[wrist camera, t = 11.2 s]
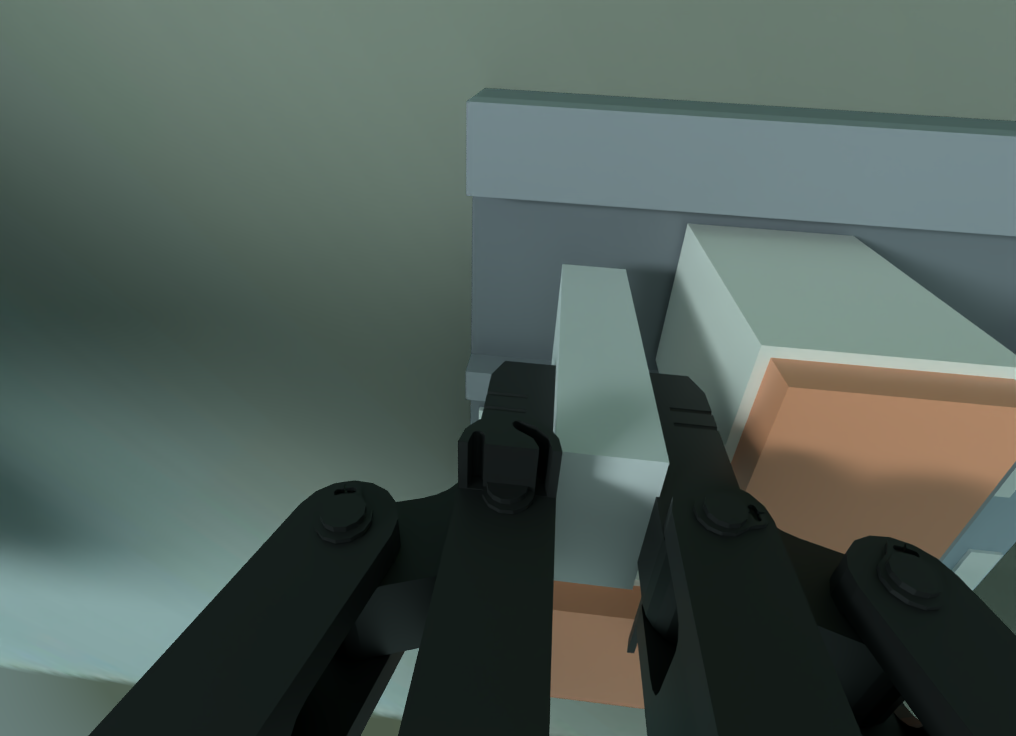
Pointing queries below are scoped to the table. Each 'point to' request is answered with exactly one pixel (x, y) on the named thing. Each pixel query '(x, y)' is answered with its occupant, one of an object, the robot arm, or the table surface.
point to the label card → (986, 537)
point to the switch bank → (720, 204)
